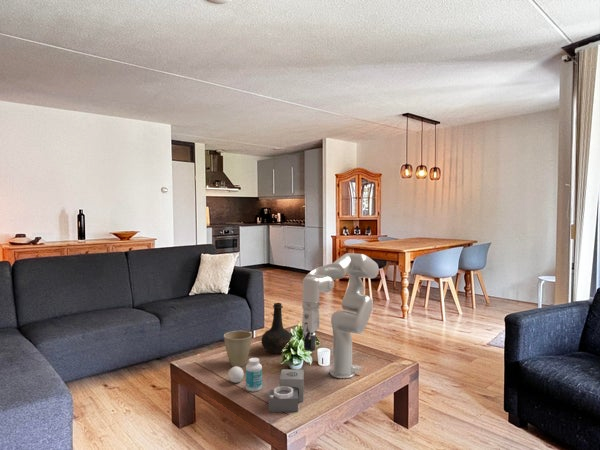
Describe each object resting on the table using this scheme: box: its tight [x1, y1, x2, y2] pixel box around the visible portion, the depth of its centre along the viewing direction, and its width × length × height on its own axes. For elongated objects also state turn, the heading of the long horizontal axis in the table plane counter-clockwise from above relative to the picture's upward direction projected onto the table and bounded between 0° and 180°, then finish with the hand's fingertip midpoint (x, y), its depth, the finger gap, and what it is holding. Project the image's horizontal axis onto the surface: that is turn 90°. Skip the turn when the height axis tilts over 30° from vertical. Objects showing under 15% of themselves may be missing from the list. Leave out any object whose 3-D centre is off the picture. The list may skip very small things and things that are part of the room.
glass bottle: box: [260, 302, 292, 354], centre depth 225 cm, size 18×18×28 cm
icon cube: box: [279, 368, 305, 403], centre depth 171 cm, size 10×10×10 cm
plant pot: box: [223, 330, 253, 368], centre depth 206 cm, size 15×15×16 cm
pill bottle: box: [245, 357, 263, 392], centre depth 178 cm, size 8×7×14 cm
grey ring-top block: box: [268, 385, 299, 413], centre depth 162 cm, size 12×8×7 cm, turn 91°
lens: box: [303, 330, 317, 352], centre depth 172 cm, size 5×5×8 cm
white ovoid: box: [227, 366, 245, 383], centre depth 186 cm, size 10×7×7 cm
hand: (309, 345), depth 172 cm, fingers closed on lens, 5 cm apart
